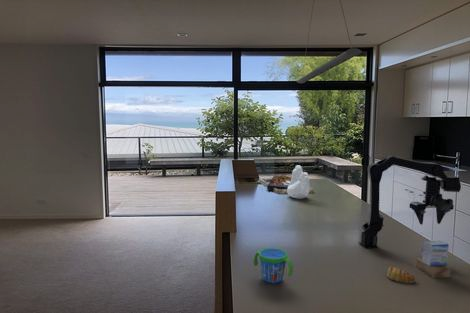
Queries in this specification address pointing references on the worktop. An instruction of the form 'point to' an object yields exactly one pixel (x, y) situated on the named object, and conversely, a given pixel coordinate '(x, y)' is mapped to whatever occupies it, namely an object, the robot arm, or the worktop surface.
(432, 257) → the medicine box
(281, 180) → the food platter
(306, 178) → the decorative rooster
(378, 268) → the worktop surface
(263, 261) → the snack cup
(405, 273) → the pastry
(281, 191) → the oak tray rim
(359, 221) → the worktop surface
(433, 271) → the walnut pedestal block
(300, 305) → the worktop surface
